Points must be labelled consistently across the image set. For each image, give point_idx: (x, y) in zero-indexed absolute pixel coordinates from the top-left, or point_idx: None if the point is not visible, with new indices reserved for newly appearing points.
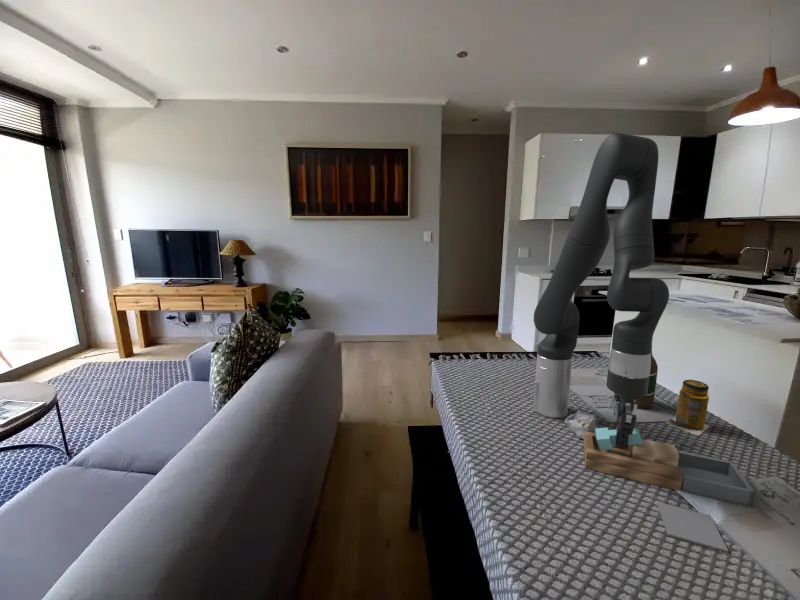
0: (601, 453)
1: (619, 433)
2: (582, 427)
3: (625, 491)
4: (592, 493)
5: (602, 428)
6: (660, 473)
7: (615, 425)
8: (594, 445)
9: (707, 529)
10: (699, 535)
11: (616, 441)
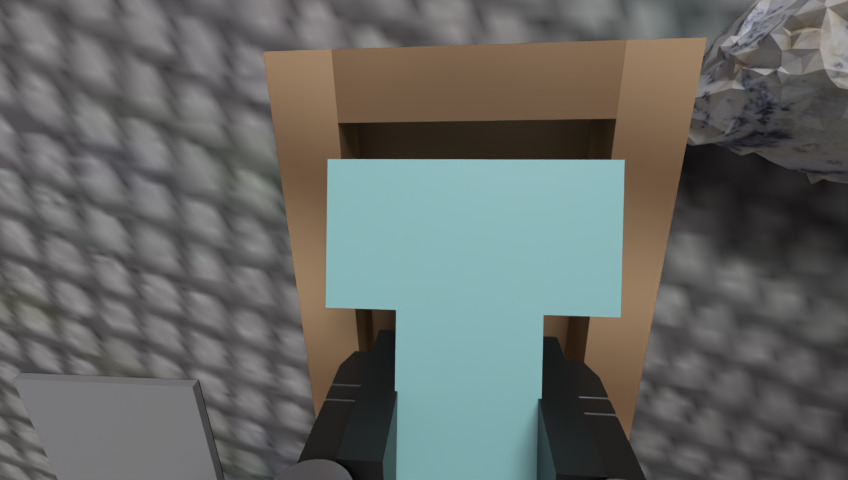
0: (305, 185)
1: (315, 458)
2: (813, 12)
3: (206, 270)
4: (70, 97)
5: (606, 252)
6: None
7: (549, 449)
8: (547, 136)
9: None
10: (86, 465)
11: (375, 352)
